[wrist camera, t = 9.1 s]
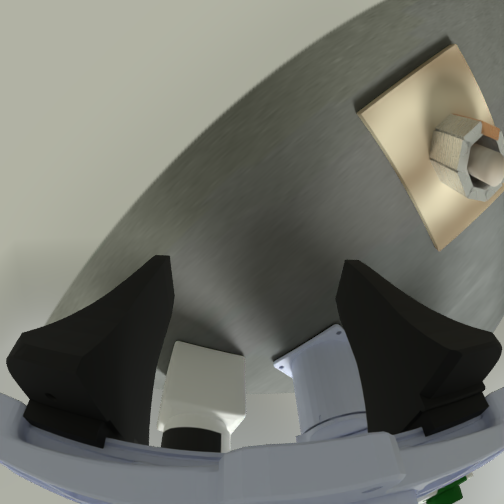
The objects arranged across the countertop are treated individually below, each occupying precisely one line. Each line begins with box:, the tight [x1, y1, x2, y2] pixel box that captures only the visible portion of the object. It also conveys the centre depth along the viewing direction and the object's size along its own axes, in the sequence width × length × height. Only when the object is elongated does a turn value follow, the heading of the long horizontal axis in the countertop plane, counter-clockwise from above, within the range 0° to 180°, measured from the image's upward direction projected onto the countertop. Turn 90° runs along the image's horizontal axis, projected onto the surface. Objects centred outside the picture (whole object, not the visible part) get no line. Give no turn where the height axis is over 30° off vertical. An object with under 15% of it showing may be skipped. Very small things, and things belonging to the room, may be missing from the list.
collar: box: [429, 114, 504, 202], centre depth 16 cm, size 6×6×4 cm
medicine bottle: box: [157, 341, 246, 453], centre depth 24 cm, size 7×7×12 cm
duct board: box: [357, 44, 504, 251], centre depth 16 cm, size 14×11×6 cm
